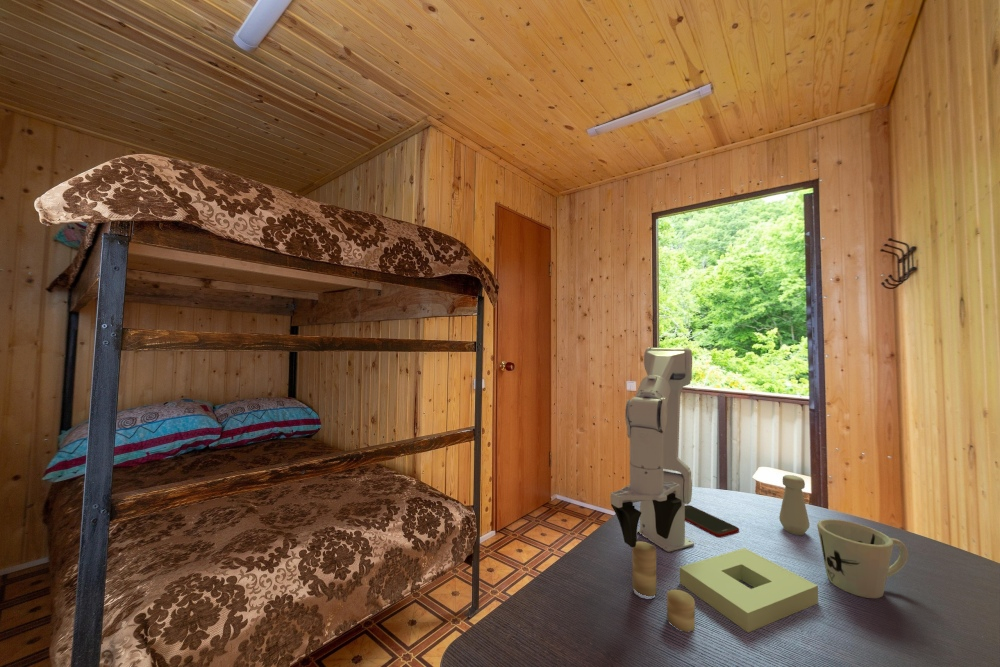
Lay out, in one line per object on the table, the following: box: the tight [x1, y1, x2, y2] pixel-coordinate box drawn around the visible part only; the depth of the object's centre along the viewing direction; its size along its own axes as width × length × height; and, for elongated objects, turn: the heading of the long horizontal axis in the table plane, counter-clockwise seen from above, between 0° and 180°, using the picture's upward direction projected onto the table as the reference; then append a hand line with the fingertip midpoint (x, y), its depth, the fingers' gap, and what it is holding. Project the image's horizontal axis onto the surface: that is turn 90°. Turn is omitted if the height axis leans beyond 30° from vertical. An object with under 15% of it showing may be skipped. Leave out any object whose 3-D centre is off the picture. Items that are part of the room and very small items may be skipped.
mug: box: [816, 518, 910, 599], centre depth 71 cm, size 10×15×10 cm
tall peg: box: [632, 541, 657, 596], centre depth 68 cm, size 4×4×8 cm
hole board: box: [679, 547, 819, 634], centre depth 68 cm, size 13×18×3 cm
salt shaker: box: [778, 474, 810, 536], centre depth 91 cm, size 6×6×13 cm
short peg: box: [666, 589, 696, 633], centre depth 61 cm, size 4×4×4 cm
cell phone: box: [685, 504, 740, 538], centre depth 96 cm, size 8×15×1 cm, turn 23°
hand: (646, 540), depth 68 cm, fingers open, 7 cm apart
